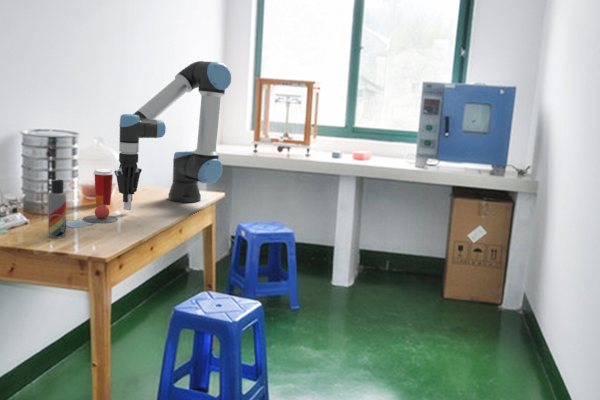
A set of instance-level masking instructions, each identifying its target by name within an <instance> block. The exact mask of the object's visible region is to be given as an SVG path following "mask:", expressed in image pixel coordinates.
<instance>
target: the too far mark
mask: <svg viewBox="0 0 600 400" xmlns="http://www.w3.org/2000/svg"><path fill="white" fill-rule="evenodd" d="M91 225H92V226H93V225H94V223H90V222H86V221H84V220H80V219H74V220H73V219H72V220H68V221H67V220H66V228H71V229H78V228H82V227H86V226H91Z"/></svg>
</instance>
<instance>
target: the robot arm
mask: <svg viewBox="0 0 600 400" xmlns="http://www.w3.org/2000/svg"><path fill="white" fill-rule="evenodd" d="M231 83H232V73H231V71H230V69H229V68H228V66H227V65H225V63H222V62H218V61H203V60H199V61H194V62H192V63H191V64H188V65H187V66H186V67H184V68H183V69H182V70H180V71H179V72H178V73H177V74H176V75H175V76H174V79H173V80H171V82H170V83H168V85H166V86H165V87H164V88H163V89H161V90H160V91H159V92H158V93H157V94H155V95H154V96H153V97H152V98H151V99H149V100H148V101H147V102H146V103H145V104H144V105H142V106H141V107H140V108H139V109H138V110H136V111H135V112H133V114H131V113H124V114H121V115H120V119H119V144H118V145H119V149H118V150H119V153H118V154H119V155H118V162H119V167H118V169H117V170H116V169H115V170H114V172H113V173H114V174H115V176H116V183H117V187H118V188H117V189H118V192H119V193H120V194H122V195H123V196H122V202H123V210H126V211H131V210H132V202H133V195H135V193H137V189H138V184H139V181H140V176H141V173H142V168H139V167H138V163H139V154H138V153H139V149H140V147H139V146H140V145H139V142H140V139H157V138H158V139H161V138H163V137H164V136H165V134H166V131H167V130H166V129H167V128H166V124H165V122H164V121H163V120H161V119H156V118H158V117H159V116H160V115H161V114H163V113H164V111H166V110H167V109H168V108H170V107H171V106H172V105H173V104H175V102H176V101H178V100H179V99H180V98H181V97H183V95H185V94H186V93H191V92H192V91H193V90H195V89H197V88H198V93H199V94H200V95H201V96H200V108H199V119H198V121H199V122H198V132H197V142H196V149H195V150H193V151H191V150H190V151H188V150H187V151H186V150H185V151H176V152H174V153H173V159H172V161H173V162H172V163H173V164H172V183H171V186H170V190H169V192H168V197H167V198H168V200H169V201H171V202H176V203H177V202H178V203H196V202H200V201H201V197H202V194H201V192H200V188H199V185H198V184H199V183H201V184H207V185H210V184H214V183H216V182H218V180H220V178H221V176H222V174H223V172H224V171H223V169H224V168H223V163H222V162H221V161H220V160H219V158H220V155H219V153H218V152H217V142H218V129H219V119H220V110H221V109H220V108H221V99H222V97H223V96H224V95H225V92H226V90H227V89H228V88H229V86H230V85H231Z"/></svg>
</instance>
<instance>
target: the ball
mask: <svg viewBox="0 0 600 400" xmlns="http://www.w3.org/2000/svg"><path fill="white" fill-rule="evenodd" d="M94 215H96V217H97V218H99V219H105V218H107V217H108V215H110V209H109V207H108V206H107V205H106V206H104V205H97V206H96V208H95V209H94Z"/></svg>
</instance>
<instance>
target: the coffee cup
mask: <svg viewBox="0 0 600 400" xmlns="http://www.w3.org/2000/svg"><path fill="white" fill-rule="evenodd" d="M114 174H115V173H114V172H113V170H112V169H110V168H109V169H108V168H97V169H95V170H94V172H93V175H94V192H95V194H94V196H95V205H96V206H100V205H104V206H106V207H107V206H110V205H111V202H112V201H111V199H112V190H113V187H112V186H113V175H114Z"/></svg>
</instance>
